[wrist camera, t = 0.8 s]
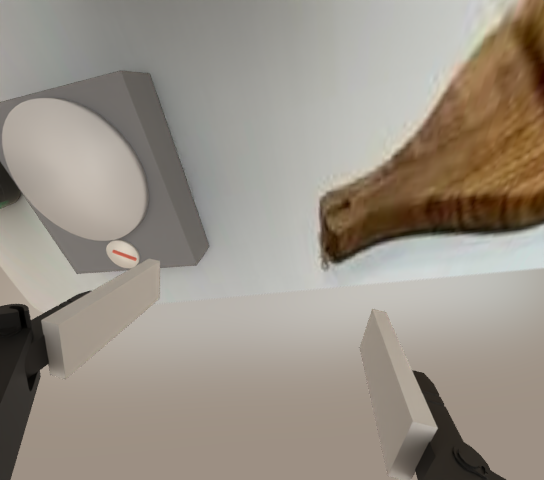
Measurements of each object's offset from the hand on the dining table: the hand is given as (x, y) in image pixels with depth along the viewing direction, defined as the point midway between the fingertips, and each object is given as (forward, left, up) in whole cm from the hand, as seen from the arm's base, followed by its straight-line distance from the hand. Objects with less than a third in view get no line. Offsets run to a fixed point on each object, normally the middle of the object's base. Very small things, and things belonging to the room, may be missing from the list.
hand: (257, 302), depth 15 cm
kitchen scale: (-5, -18, -14) cm, 23 cm away
